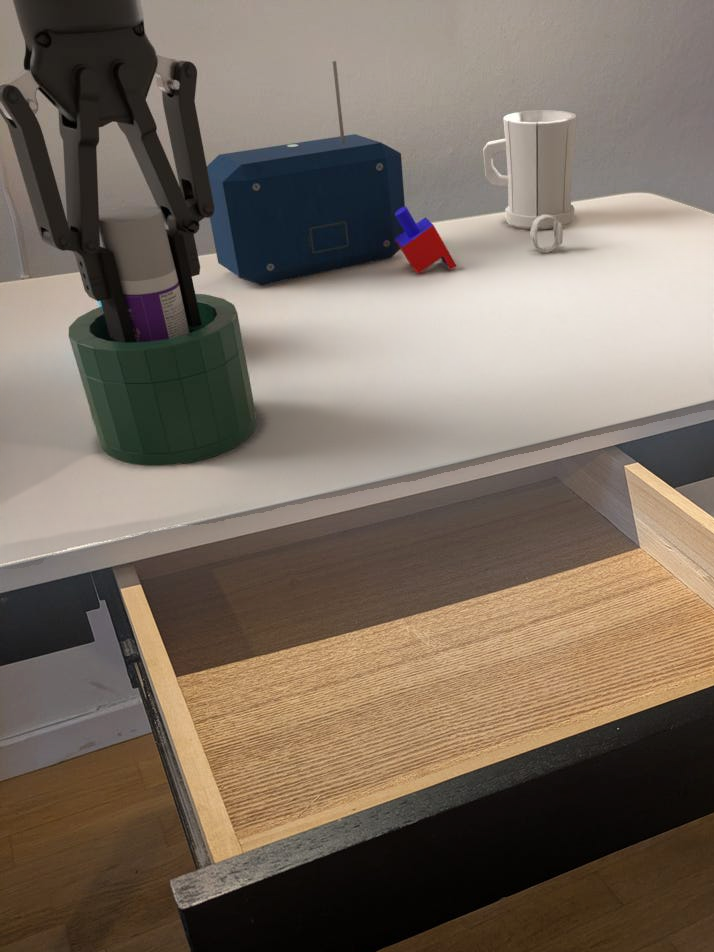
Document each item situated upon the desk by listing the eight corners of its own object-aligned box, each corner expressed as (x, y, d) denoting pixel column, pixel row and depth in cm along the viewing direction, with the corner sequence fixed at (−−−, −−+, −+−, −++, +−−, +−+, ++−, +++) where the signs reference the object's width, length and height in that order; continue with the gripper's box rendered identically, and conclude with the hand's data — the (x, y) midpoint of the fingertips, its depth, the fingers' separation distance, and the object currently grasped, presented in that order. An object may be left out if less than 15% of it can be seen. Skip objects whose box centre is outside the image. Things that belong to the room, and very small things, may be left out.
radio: (377, 239, 121) (360, 52, 109) (412, 256, 115) (398, 59, 103) (216, 272, 112) (177, 72, 100) (244, 291, 106) (207, 81, 94)
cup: (516, 236, 120) (515, 127, 112) (480, 220, 126) (477, 116, 119) (587, 223, 123) (591, 116, 116) (549, 208, 130) (550, 106, 123)
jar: (80, 468, 74) (43, 352, 68) (126, 401, 83) (98, 295, 78) (240, 463, 73) (217, 346, 68) (268, 397, 83) (249, 290, 78)
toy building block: (418, 278, 113) (381, 216, 108) (448, 256, 112) (412, 194, 107) (425, 287, 110) (388, 224, 105) (456, 265, 110) (420, 201, 105)
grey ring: (532, 255, 113) (533, 218, 111) (527, 250, 115) (528, 214, 112) (562, 252, 114) (563, 216, 111) (557, 247, 116) (558, 211, 113)
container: (134, 423, 76) (80, 221, 67) (166, 398, 80) (119, 203, 71) (186, 428, 75) (139, 224, 66) (216, 404, 79) (175, 206, 70)
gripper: (-64, -36, 53) (63, 378, 67) (225, -55, 62) (283, 312, 76) (-106, -38, 57) (21, 350, 71) (169, -56, 66) (233, 291, 80)
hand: (156, 330), depth 74 cm, fingers closed on container, 5 cm apart
